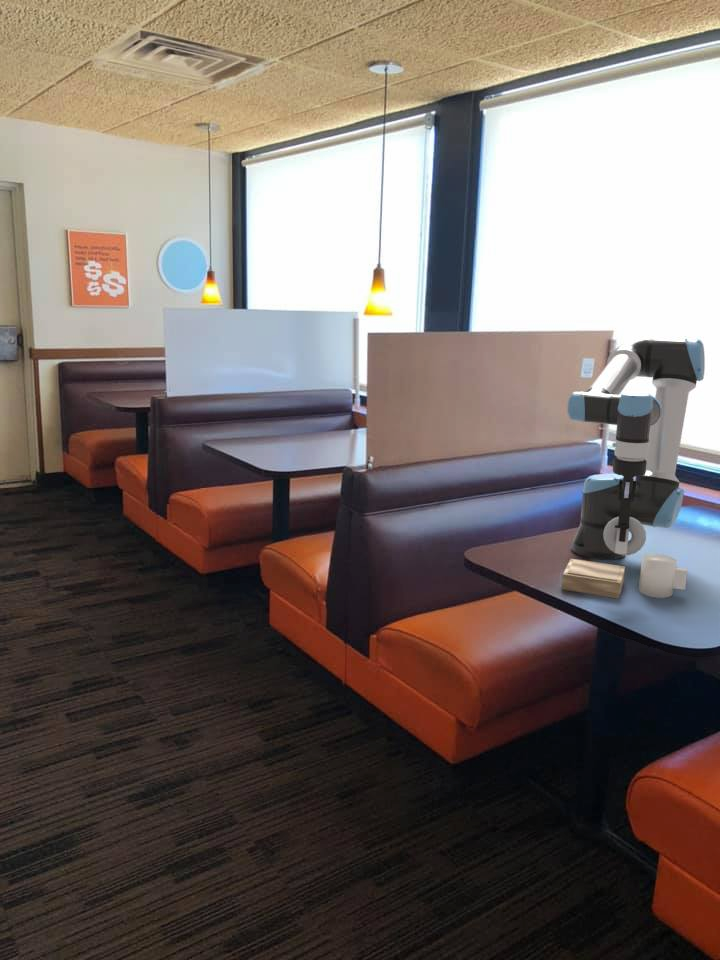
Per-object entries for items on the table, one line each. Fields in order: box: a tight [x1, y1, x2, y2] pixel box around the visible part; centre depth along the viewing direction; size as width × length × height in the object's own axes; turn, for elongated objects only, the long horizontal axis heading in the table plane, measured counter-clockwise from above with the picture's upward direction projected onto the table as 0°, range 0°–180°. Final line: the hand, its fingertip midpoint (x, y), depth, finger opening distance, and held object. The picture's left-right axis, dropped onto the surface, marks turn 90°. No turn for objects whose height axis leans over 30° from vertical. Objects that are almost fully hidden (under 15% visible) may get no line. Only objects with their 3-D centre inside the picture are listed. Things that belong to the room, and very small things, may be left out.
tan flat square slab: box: [561, 558, 626, 599], centre depth 197 cm, size 14×14×4 cm
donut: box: [603, 517, 647, 556], centre depth 187 cm, size 10×4×10 cm, turn 69°
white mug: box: [638, 552, 688, 599], centre depth 192 cm, size 8×11×9 cm
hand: (621, 550), depth 188 cm, fingers closed on donut, 3 cm apart
